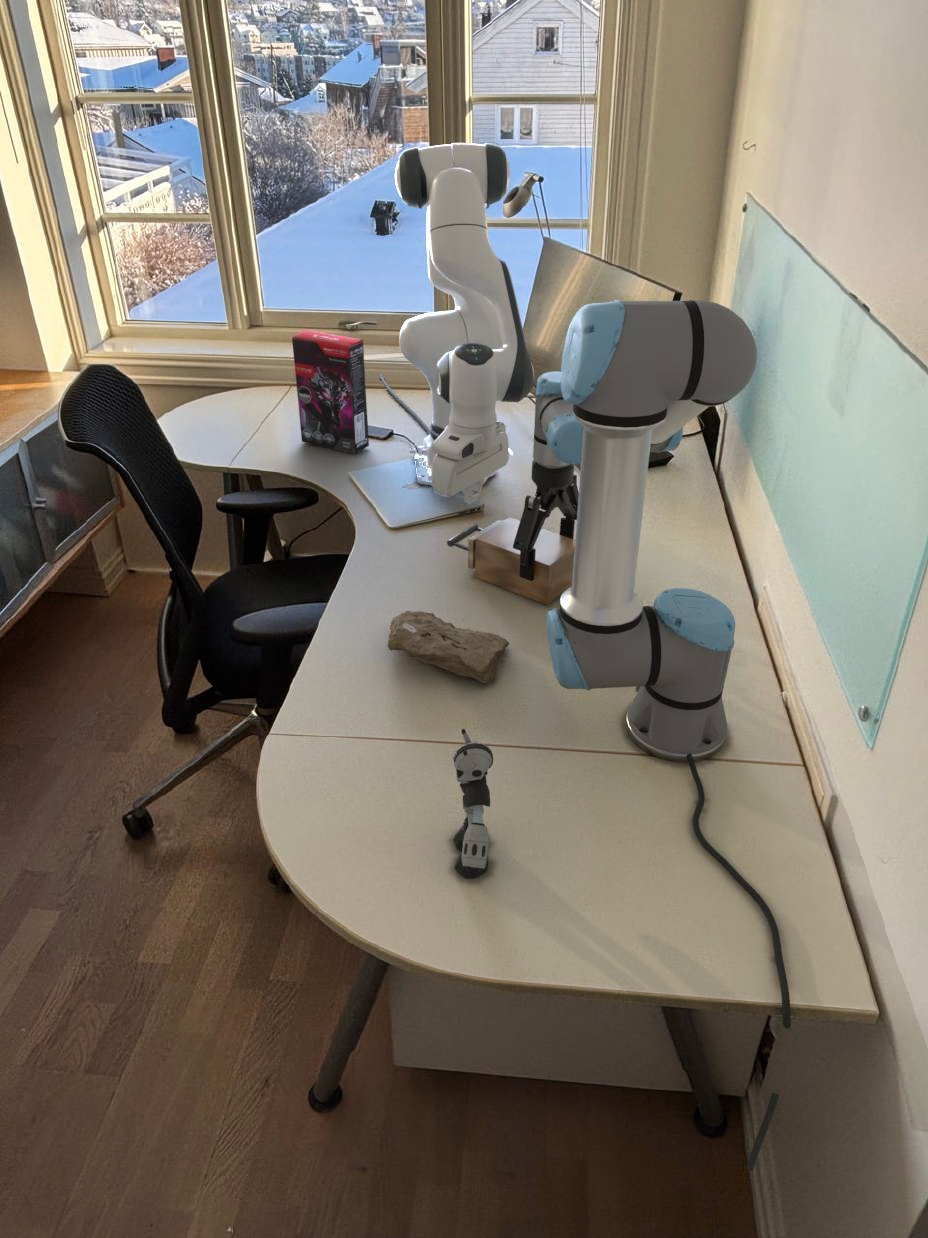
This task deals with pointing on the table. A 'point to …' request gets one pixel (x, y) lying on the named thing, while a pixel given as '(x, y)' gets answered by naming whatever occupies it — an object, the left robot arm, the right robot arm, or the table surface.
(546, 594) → the cabinet
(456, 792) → the table surface
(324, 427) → the graphics card box
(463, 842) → the robot
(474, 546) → the drawer
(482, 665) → the stone
